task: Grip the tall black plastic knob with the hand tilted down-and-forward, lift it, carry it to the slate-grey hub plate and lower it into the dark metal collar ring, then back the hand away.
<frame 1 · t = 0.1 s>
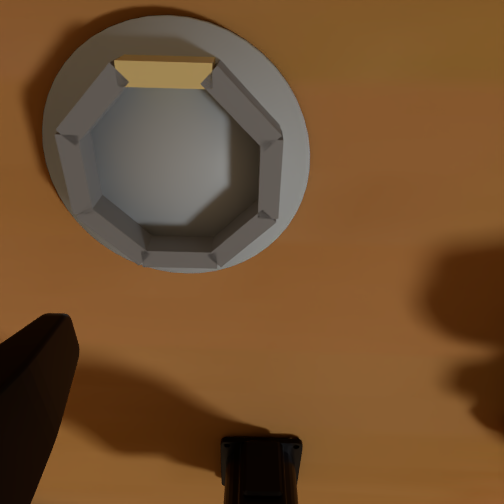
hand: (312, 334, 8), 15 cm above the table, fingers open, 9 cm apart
hub: (179, 161, 21), on the table
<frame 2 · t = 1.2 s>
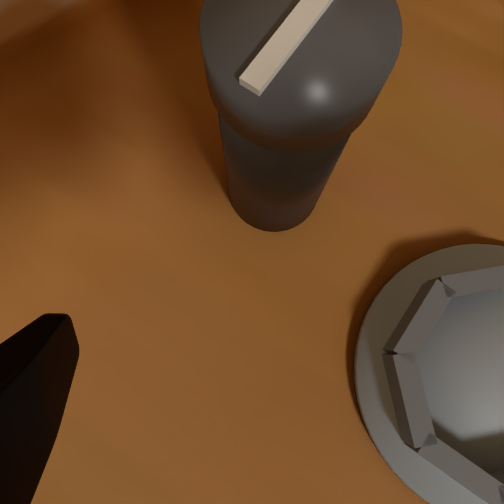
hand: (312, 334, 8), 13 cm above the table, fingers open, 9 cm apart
knob: (273, 188, 23), on the table
hub: (486, 375, 21), on the table
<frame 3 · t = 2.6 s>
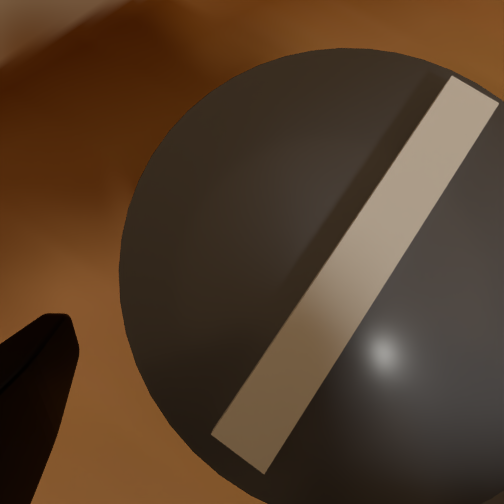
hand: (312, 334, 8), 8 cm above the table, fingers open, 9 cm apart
knob: (279, 320, 16), on the table
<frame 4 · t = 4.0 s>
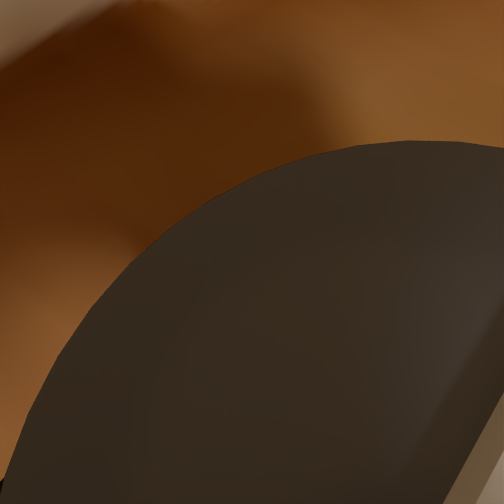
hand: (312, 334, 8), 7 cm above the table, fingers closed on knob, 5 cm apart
knob: (283, 379, 14), on the table, touching gripper
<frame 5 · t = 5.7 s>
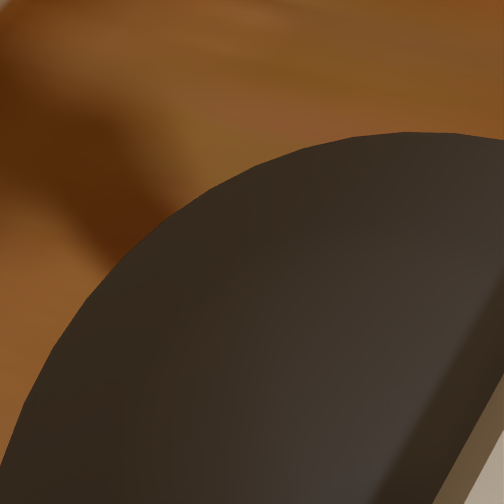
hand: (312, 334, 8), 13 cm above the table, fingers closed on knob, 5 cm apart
knob: (282, 377, 14), point 7 cm above the table, touching gripper
when the fingers open (9 cm above the table, at t = 7.4 s): knob drops 2 cm, resting on hub.
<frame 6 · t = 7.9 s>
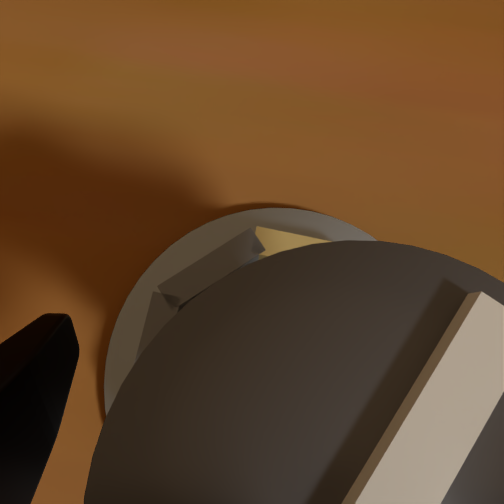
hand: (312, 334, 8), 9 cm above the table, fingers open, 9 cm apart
knob: (280, 376, 16), point 1 cm above the table, touching hub
hub: (278, 373, 16), on the table
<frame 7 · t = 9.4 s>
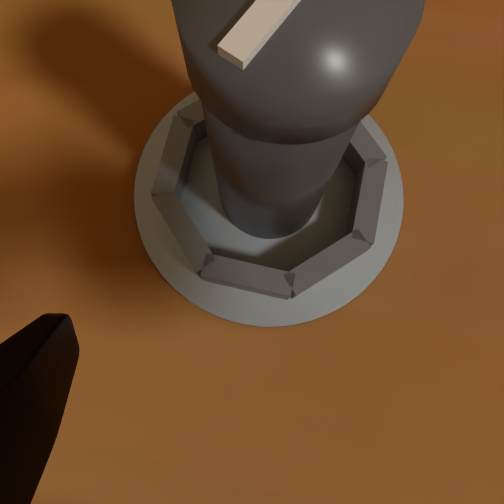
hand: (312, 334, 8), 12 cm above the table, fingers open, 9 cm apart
knob: (269, 190, 20), point 1 cm above the table, touching hub
hub: (268, 194, 21), on the table
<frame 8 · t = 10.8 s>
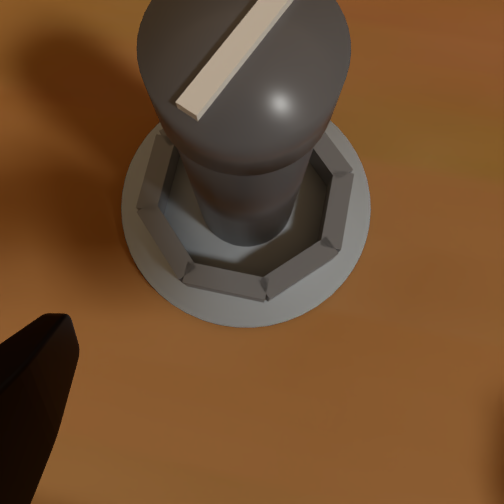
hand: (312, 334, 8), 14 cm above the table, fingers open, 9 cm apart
knob: (246, 201, 22), point 1 cm above the table, touching hub
hub: (246, 204, 23), on the table
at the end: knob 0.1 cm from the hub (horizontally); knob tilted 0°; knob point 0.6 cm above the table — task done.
